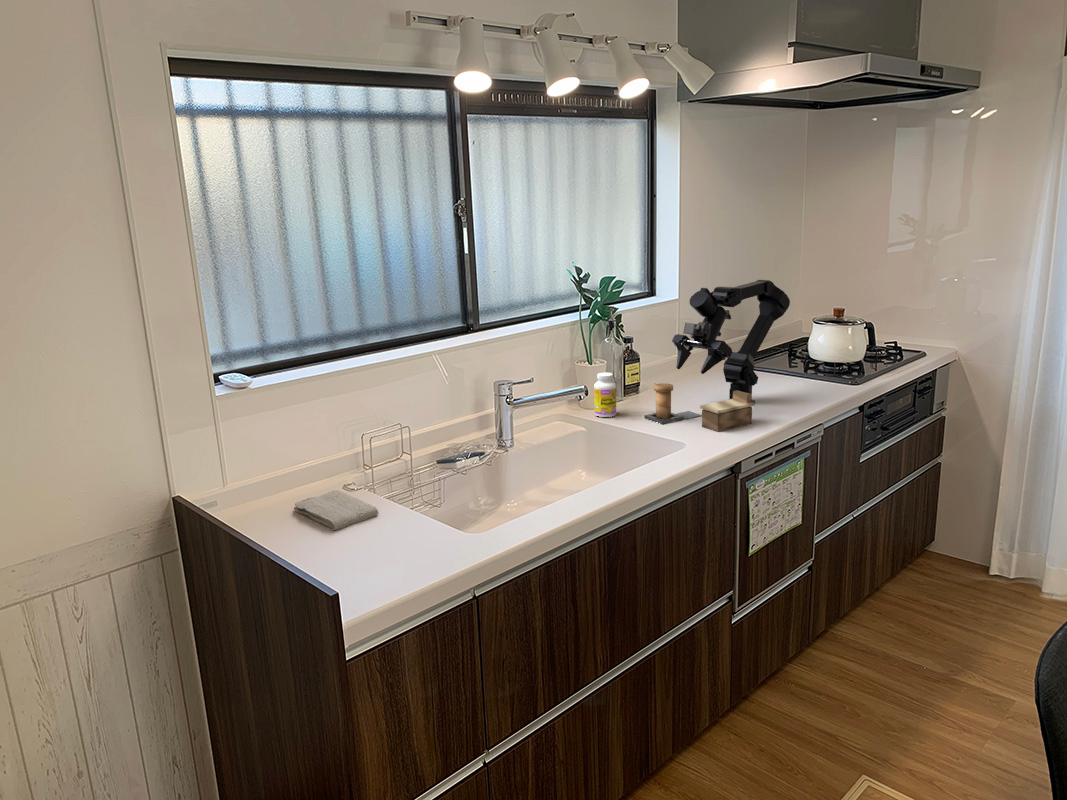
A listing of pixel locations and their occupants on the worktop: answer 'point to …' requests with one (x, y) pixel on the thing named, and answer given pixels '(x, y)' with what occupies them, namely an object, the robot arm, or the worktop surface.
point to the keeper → (673, 418)
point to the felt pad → (689, 415)
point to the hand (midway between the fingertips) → (689, 371)
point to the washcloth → (335, 510)
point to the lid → (730, 403)
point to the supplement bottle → (605, 395)
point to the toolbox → (726, 419)
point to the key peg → (663, 400)
